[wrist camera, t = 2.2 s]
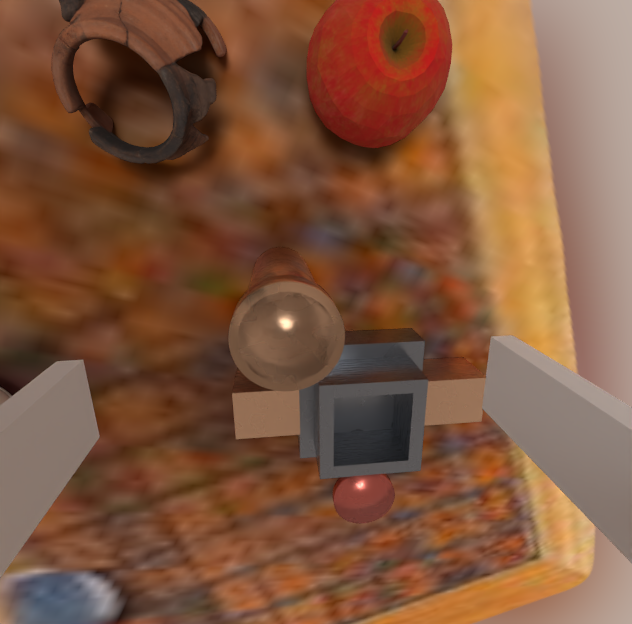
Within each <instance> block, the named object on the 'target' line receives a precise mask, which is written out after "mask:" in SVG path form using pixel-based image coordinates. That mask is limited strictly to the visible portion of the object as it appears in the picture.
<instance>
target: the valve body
mask: <svg viewBox="0 0 632 624" xmlns="http://www.w3.org/2000/svg"><path fill="white" fill-rule="evenodd" d="M424 345H425V341H424V340H423V339H422V338H421V337H420V336H419V335H418V334H417V333H416V332H415V331H414V330H413V329H412V328H404V329H383V330H361V331H345V342H344V348H343V352H342V354H341V357H340V359H339V361H338V363H337V364H336V366H335V367H334V369H333V370H332V371H331V372H330V373H329V374H328V375H327V376H326V377H325V378H323V379H322V380H321V381H319V382H318V383H316V384H314V385H312V386H310V387H307V388H304V389H301V390H296V391H275V390H271V389H267V388H264V387H261V386H259V385H257V384H255V383H254V382H252V381H251V380H249V379H248V378H247V377H246V376H245V375H244V374H243V373H242V372H241V371H240V370H237V371H236V376H235V381H234V386H233V391H232V399H233V411H234V423H235V435H236V439H246V438H260V437H274V436H288V435H298V442H299V452H300V458H309V457H316V458H317V464H318V470H319V476H320V479H327V478H339V477H340V478H339V479H338V480H337V482H336V483H335V485H334V488H333V501H334V506H335V509H336V511H337V513H338V514H339V515H340V516H341V517H342V518H343V519H345V520H347V521H349V522H353V523H368V522H372V521H374V520H377V519H379V518H380V517H382V516H383V515H384V514H386V513H387V512H388V510H389V509H390V508H391V506H392V504H393V502H394V497H395V492H394V488H393V486H392V483H391V481H390V479H389V477H388V476H387V474H386V473H398V472H410V471H420V470H421V459H422V447H423V436H424V426H425V425H439V424H453V423H467V422H481V420H482V413H483V409H482V404H483V396H484V389H485V381H486V376H485V375H484V374H482V373H481V372H480V371H479V370H478V369H477V368H476V367H474V366H473V365H472V364H471V363H470V362H469V361H467V360H466V359H465V358H464V357H459V358H441V359H423V357H424Z"/></svg>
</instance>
